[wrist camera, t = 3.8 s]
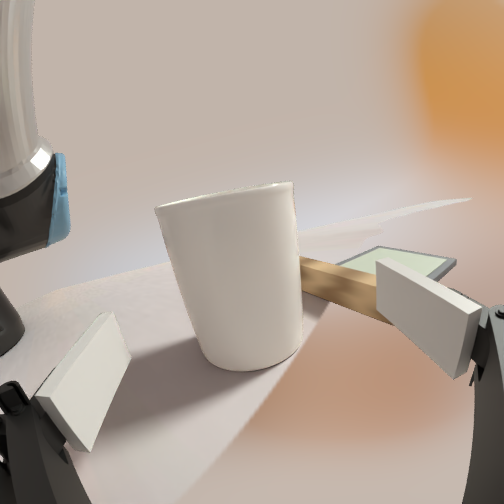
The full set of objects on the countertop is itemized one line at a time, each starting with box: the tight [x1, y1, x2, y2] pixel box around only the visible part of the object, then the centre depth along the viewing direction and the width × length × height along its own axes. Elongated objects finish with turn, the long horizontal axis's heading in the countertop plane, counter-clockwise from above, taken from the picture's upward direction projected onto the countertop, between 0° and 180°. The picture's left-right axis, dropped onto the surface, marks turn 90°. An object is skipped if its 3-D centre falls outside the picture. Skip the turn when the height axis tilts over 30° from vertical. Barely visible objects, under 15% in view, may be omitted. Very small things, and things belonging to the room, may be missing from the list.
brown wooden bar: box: [299, 256, 394, 326], centre depth 25 cm, size 20×2×3 cm, turn 29°
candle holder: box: [155, 181, 303, 371], centre depth 21 cm, size 10×10×12 cm
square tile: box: [335, 246, 457, 282], centre depth 30 cm, size 13×13×1 cm
